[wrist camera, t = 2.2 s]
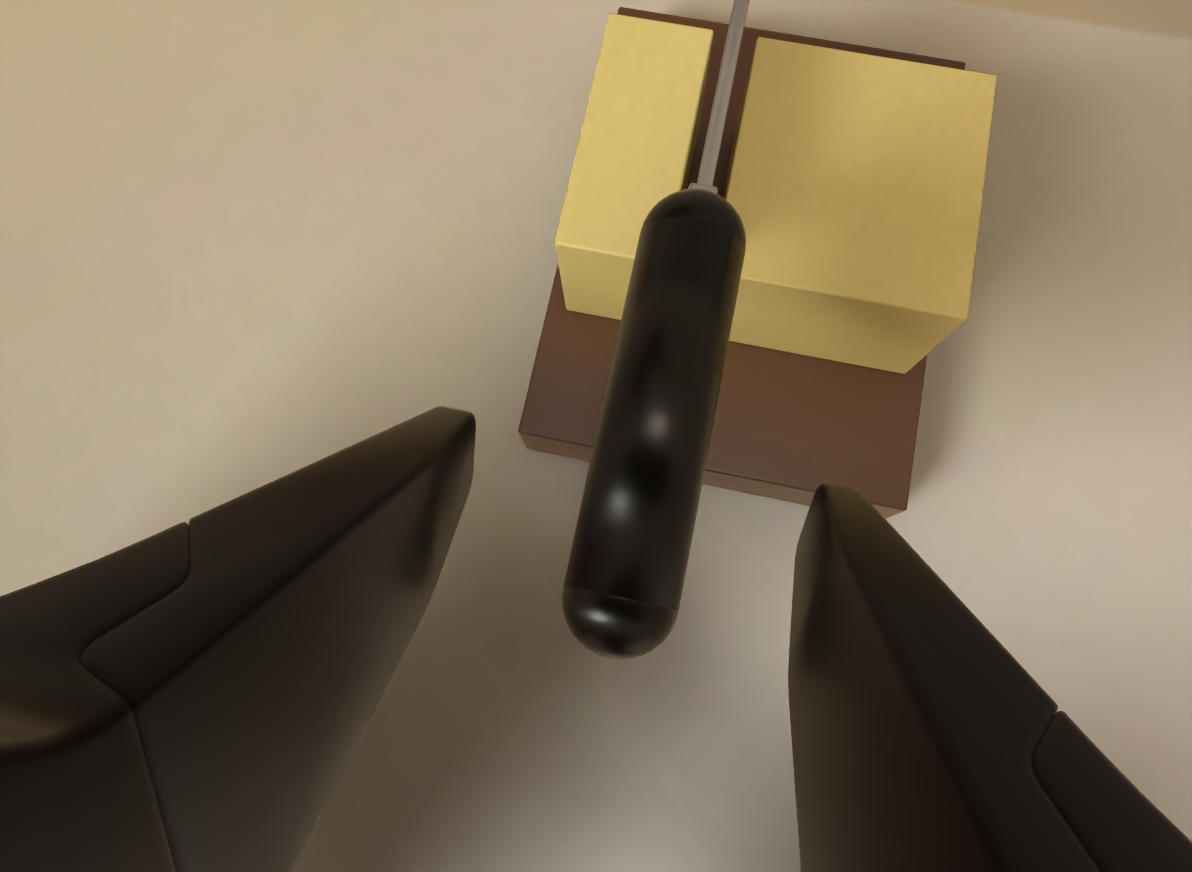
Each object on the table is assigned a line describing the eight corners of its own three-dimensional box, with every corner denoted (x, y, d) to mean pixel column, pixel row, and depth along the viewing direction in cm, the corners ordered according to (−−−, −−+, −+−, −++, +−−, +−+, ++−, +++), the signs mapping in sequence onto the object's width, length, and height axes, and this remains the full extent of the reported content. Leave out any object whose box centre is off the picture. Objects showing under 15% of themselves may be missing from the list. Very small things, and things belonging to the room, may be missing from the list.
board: (882, 520, 23) (907, 511, 21) (526, 448, 23) (517, 432, 21) (940, 105, 25) (966, 61, 23) (618, 52, 26) (619, 5, 24)
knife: (655, 659, 17) (670, 674, 12) (568, 639, 17) (545, 646, 12) (771, 48, 20) (824, -155, 15) (697, 36, 20) (723, -170, 15)
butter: (905, 375, 21) (968, 319, 18) (565, 310, 22) (553, 243, 18) (933, 168, 23) (998, 74, 19) (611, 113, 23) (609, 11, 19)
